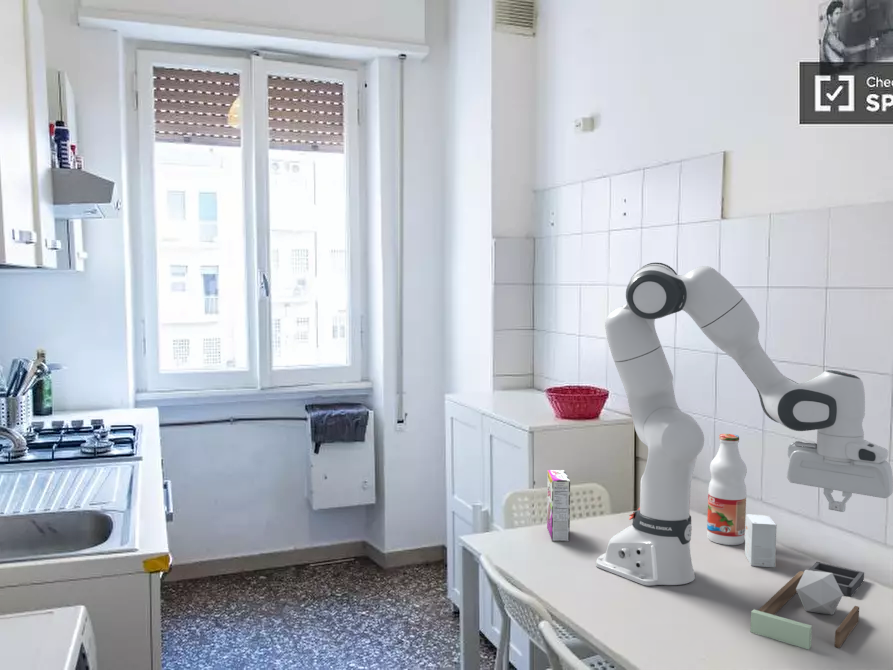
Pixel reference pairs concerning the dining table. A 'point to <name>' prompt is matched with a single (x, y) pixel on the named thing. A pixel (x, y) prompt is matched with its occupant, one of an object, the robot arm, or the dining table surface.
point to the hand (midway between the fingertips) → (836, 510)
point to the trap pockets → (842, 577)
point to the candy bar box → (558, 505)
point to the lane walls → (790, 590)
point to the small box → (760, 540)
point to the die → (819, 592)
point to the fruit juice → (727, 494)
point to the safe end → (781, 629)
